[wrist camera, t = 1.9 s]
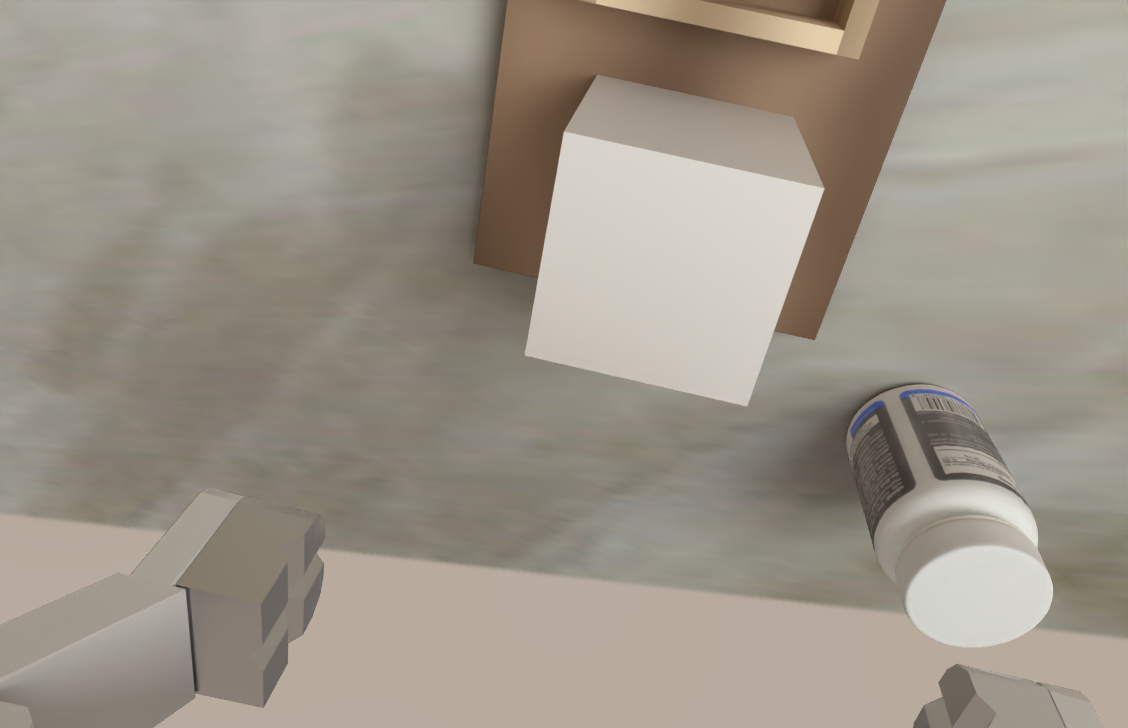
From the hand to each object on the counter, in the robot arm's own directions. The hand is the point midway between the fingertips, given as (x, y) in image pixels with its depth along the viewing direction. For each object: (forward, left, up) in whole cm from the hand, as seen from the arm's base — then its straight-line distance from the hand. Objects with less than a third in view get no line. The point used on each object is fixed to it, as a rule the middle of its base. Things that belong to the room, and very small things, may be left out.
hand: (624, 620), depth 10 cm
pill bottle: (-11, +7, -19) cm, 23 cm away
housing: (0, 0, -18) cm, 18 cm away
